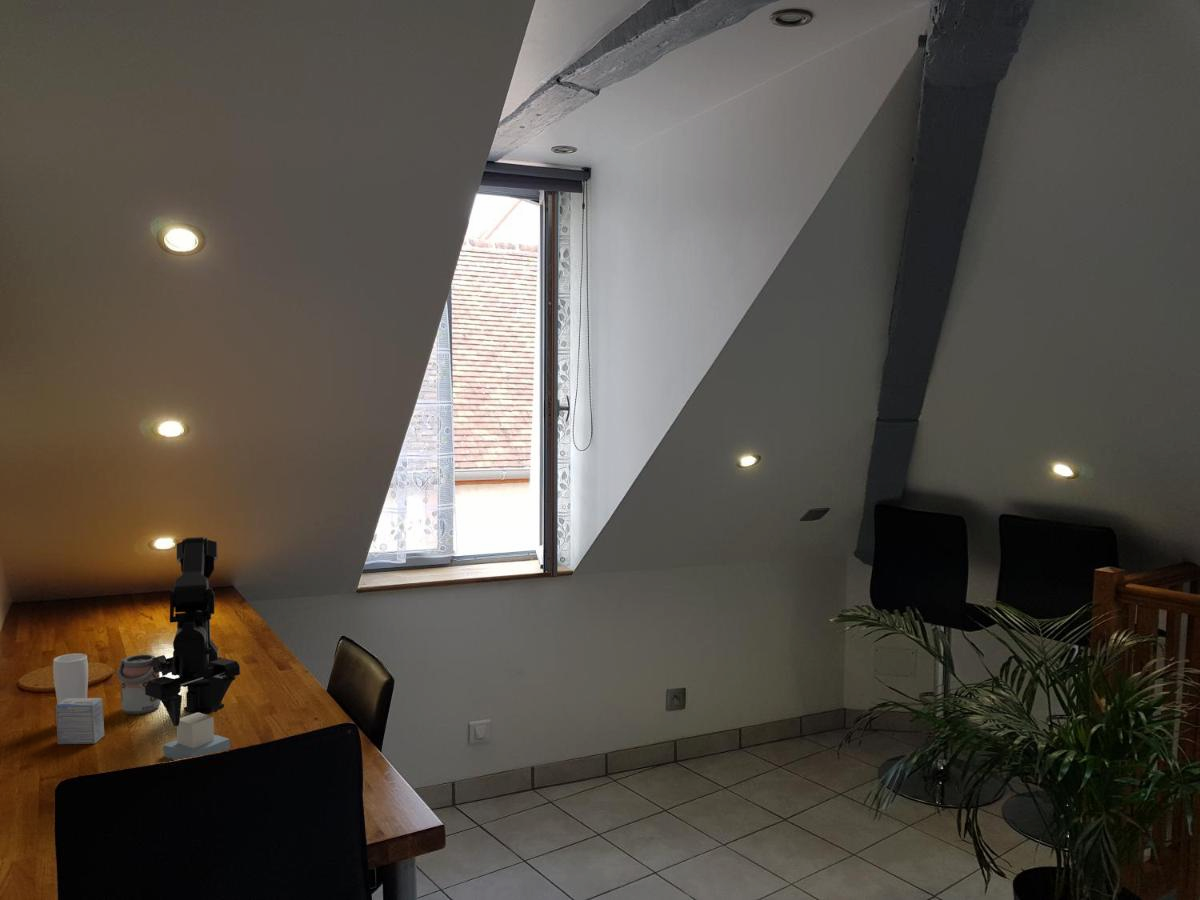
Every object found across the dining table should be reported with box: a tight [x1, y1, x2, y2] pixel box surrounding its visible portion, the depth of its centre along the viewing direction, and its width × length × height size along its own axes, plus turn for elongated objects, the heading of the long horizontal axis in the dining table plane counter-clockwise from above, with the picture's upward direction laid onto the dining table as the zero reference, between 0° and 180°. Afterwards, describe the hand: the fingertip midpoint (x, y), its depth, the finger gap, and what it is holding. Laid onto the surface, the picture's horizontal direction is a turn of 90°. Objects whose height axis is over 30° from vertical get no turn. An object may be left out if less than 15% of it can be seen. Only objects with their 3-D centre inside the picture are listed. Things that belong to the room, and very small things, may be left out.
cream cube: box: [176, 712, 215, 748], centre depth 201 cm, size 5×5×5 cm
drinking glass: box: [52, 653, 89, 705], centre depth 218 cm, size 7×7×15 cm
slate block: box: [162, 733, 231, 761], centre depth 202 cm, size 9×9×3 cm
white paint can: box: [116, 653, 161, 715], centre depth 227 cm, size 9×8×12 cm
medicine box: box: [55, 697, 105, 745], centre depth 208 cm, size 8×4×9 cm, turn 92°
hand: (195, 718), depth 201 cm, fingers open, 9 cm apart
